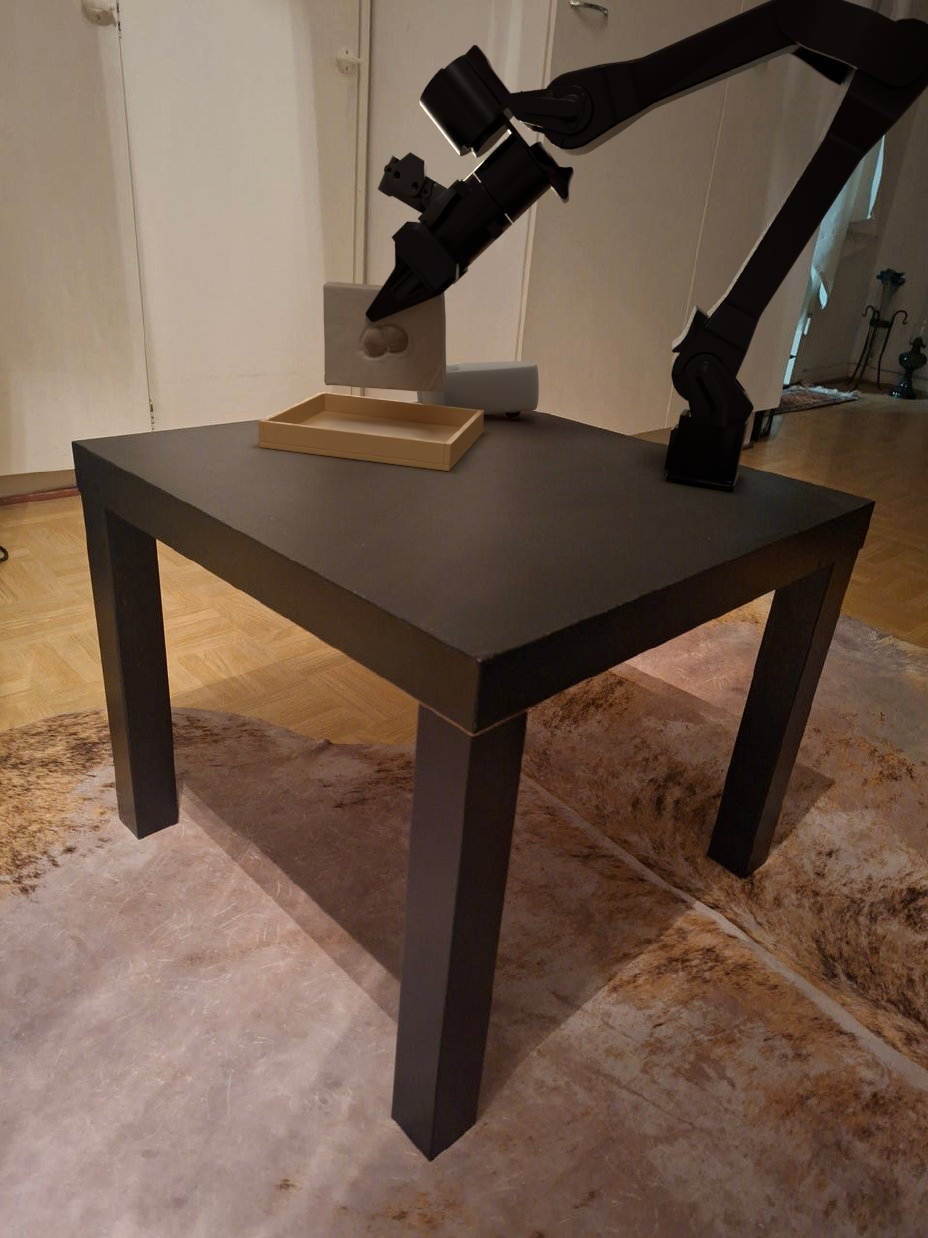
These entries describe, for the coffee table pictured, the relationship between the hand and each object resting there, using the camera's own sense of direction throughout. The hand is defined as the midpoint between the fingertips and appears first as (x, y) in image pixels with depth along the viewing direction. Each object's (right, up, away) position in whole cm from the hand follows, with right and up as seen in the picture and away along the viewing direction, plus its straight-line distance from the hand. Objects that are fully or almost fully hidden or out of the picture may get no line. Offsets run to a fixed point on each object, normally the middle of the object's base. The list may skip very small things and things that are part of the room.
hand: (371, 316), depth 82 cm
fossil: (+1, -6, +3) cm, 7 cm away
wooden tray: (0, -11, +6) cm, 13 cm away
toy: (+10, -5, +21) cm, 24 cm away
